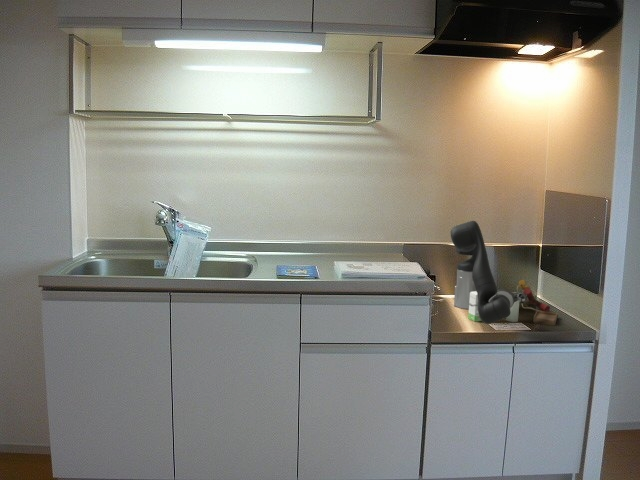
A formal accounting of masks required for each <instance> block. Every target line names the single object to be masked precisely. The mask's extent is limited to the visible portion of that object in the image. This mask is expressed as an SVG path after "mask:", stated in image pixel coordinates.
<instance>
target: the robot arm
mask: <svg viewBox="0 0 640 480" xmlns="http://www.w3.org/2000/svg"><path fill="white" fill-rule="evenodd" d="M450 239H451V242H452V244H453V245H454V247H455V252H456V253H457V254H458V255H461V256H471V257H470V258H469V259H466V260H463V261H460V262H457V265H456V266H457V267H456V285H455V286H454V299H453V300H454V301H453V307H456V308H459V309H463V310H464V309H466V310H469V300H470V292H474V291H477V295H478V312H479V317H480V319H481V320H482V321H481V322H483V323H484V324H486V325H492V324H494V323H497V322H499V321H501V320H504V319H506V318H507V317H508V316H509V315H510V313H511V312H510V308H511V307H512V306H513V304H514V302H516V301H519V303H520V304H522V303H523V304H524V303H525V302H526V301H527V298H528V297H527V294H524V293H523V290H522V291H521V290H520V291H519V293H518V292H517V291H514V292H512V291H511V290H509V289H506V288H502V289H500V288H498V287H497V285H496V281H495V279H494V276H493V273H492V270H491V266H490V263H489V257H488V252H487V248H486V245H485V240H484V237H483V233H482V230H481V228H480V226H479V224H478V222H477V221H476V220H470V221H467V222H464V223H460V224H458V225H455V226H453V227H452V228H451V230H450ZM514 294H515V295H514ZM518 295H519V298H518ZM490 298H492V299H491V300H490V302H489V299H490ZM525 304H526V303H525Z"/></svg>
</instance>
